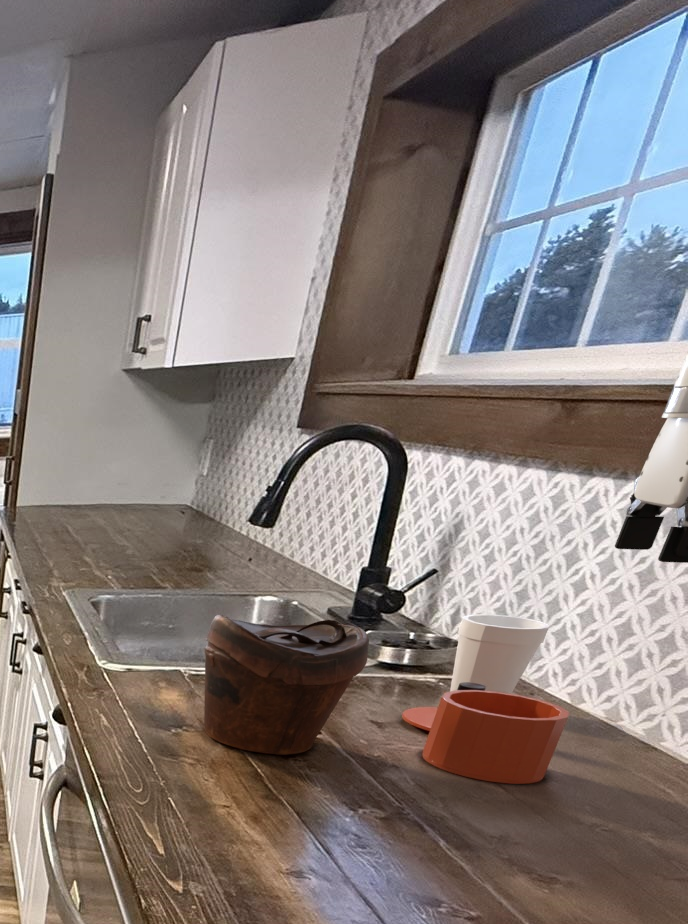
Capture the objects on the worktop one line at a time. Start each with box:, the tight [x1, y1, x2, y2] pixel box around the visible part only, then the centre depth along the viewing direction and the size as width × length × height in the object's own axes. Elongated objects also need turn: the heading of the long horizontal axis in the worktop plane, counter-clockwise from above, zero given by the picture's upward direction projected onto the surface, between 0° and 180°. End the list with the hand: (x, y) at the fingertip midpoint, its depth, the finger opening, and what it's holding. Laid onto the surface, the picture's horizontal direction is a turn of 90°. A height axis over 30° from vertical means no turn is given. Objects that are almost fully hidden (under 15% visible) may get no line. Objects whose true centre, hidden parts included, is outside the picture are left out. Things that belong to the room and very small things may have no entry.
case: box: [203, 614, 370, 756], centre depth 115 cm, size 18×20×18 cm
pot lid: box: [401, 682, 486, 732], centre depth 118 cm, size 13×13×7 cm
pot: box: [422, 690, 570, 785], centre depth 106 cm, size 12×12×8 cm
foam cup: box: [449, 613, 550, 694], centre depth 126 cm, size 10×9×13 cm
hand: (653, 555), depth 100 cm, fingers open, 9 cm apart
